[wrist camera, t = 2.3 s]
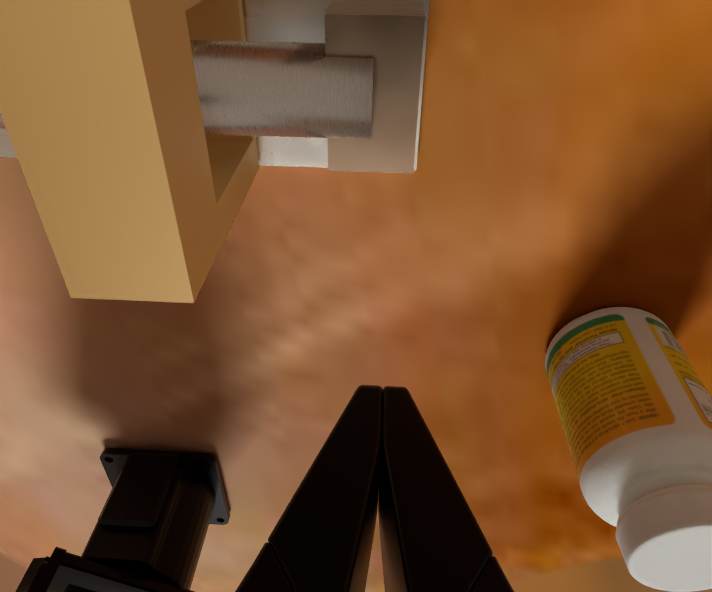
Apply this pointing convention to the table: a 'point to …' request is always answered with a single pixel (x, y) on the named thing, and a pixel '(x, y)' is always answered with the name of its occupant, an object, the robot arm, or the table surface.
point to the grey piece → (317, 83)
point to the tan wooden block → (123, 140)
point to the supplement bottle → (639, 441)
